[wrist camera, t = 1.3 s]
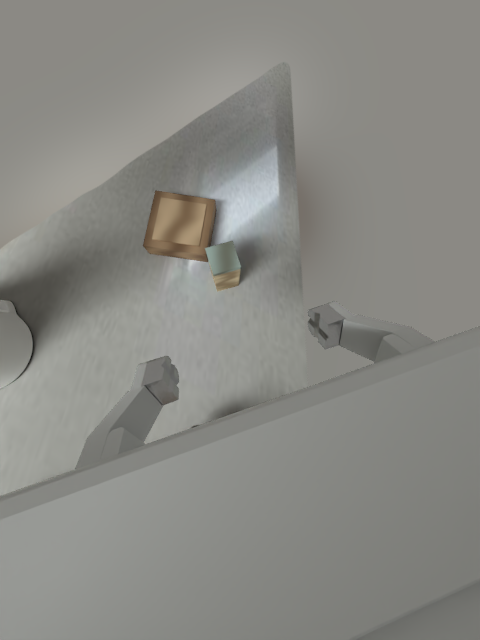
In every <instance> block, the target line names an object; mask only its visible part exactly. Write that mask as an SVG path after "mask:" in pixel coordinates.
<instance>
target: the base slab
mask: <svg viewBox="0 0 480 640" xmlns="http://www.w3.org/2000/svg"><path fill="white" fill-rule="evenodd" d="M215 215H216V203H215V200H213V199H207V198H200V197H194V196H187V195H181V194H175V193H168V192H162V191H155V195H154V199H153V204H152V208H151V213H150V217H149V221H148V226H147V230H146V235H145V239H144V244H143V246H144V247H145V249H146V250H147V251H148V252H149V253H150V254H156V255H163V256H170V257H177V258H184V259H191V260H198V261H204V262H208V257H207V254H206V250H205V248H207V247H210V245H211V239H212V233H213V227H214V221H215Z"/></svg>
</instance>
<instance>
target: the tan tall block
mask: <svg viewBox="0 0 480 640" xmlns="http://www.w3.org/2000/svg"><path fill="white" fill-rule="evenodd" d="M205 250H206V254H207V257H208V261H209V265H210V269H211V272H212V276H213V279H214V282H215V285H216V289H217V292H218V291H221V290H224V289H228V288H231V287H235V286H238V285H239V277H240V269H241V265H240V262H239V259H238V256H237V253H236V250H235V247H234V244H233V241H230V242H226V243H222V244H219V245H215V246H211V247H207V248H205Z"/></svg>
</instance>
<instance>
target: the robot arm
mask: <svg viewBox="0 0 480 640" xmlns="http://www.w3.org/2000/svg"><path fill="white" fill-rule="evenodd" d="M308 316H309V317H310V319H309V321H308V327H309V331H310V332H311V334H312V335H313V336H314V337H317V338H318V342H319V343H320V344H321V345H322V347H323V348H324V349H328V348H331V347H334V346H338V345H340V346H341V347H343V348H346V349H348V350H350V351H352V352H355V353H357V354H359V355H361V356H363V357H365V358H367V359H369V360H372V361H374V364H371V365H368V366H366V367H363V368H360V369H357V370H354V371H351V372H349V373H346V374H343V375H340V376H337V377H335V378H332V379H329V380H326V381H323V382H320V383H318V384H315V385H312V386H309V387H306V388H304V389H301V390H298V391H295V392H292V393H290V394H287V395H284V396H281V397H278V398H275V399H273V400H270V401H267V402H264V403H261V404H258V405H256V406H253V407H250V408H247V409H244V410H242V411H239V412H236V413H233V414H230V415H227V416H225V417H222V418H219V419H216V420H213V421H210V422H208V423H205V424H202V425H199V426H196V427H194V428H191V429H188V430H185V431H182V432H179V433H177V434H174V435H171V436H168V437H165V438H162V439H160V440H157V441H154V442H151V443H148V444H144V443H143V442H144V441H145V439H146V437H147V435H148V433H149V431H150V429H151V428H152V426H153V424H154V422H155V420H156V418H157V416H158V415H159V413H160V411H161V409H162V407H163V405H165V404H168V403H171V402H173V401H176V400H178V397H179V388H178V387H177V384H178V382H179V374H178V371H177V368H176V367H175V365H172V364H171V359H170V358H169V356H164V357H160V358H157V359H154V360H150V361H148V362H144V363H141V364H139V365H138V366H137V369H136V372H135V376H134V380H133V383H132V387H131V390H130V391H127V393H126V394H125V395H124V396H123V397H122V398H121V400H120V401H119V402H118V403H117V404H116V405H115V406H114V408H113V409H112V410H111V411H110V412H109V413H108V415H107V416H106V417H105V418H104V419H103V420H102V422H101V423H100V424H99V425H98V426H97V427H96V428H95V430H94V431H93V432H92V433H91V434H90V435H89V437H88V438H87V440H86V443H85V445H84V448H83V450H82V453H81V455H80V458H79V461H78V463H77V466H76V468H75V470H72V471H69V472H67V473H64V474H61V475H58V476H55V477H52V478H50V479H47V480H44V481H41V482H38V483H36V484H33V485H30V486H27V487H24V488H21V489H19V490H16V491H13V492H10V493H7V494H5V495H2V496H0V640H480V326H479V327H476V328H473V329H470V330H467V331H464V332H461V333H459V334H456V335H453V336H450V337H447V338H445V339H442V340H439V341H436V342H435V341H433V340H432V339H430V338H428V337H427V336H425V335H423V334H422V333H420V332H419V331H417V330H415V329H414V328H412V327H410V326H405V325H401V324H397V323H392V322H388V321H383V320H379V319H375V318H370V317H366V316H361V315H354V314H353V313H351V312H350V311H349V310H347V309H346V308H344V307H343V306H342V305H340V304H339V303H337V302H336V301H332V302H330V303H327V304H324V305H321V306H318V307H315V308H312V309H310V310H309V311H308ZM32 348H33V340H32V335H31V332H30V330H29V328H28V326H27V325H26V324H25V322H24V321H23V320H22V319H21V318H19V316H18V315H17V314H16V310H15V307H14V305H13V303H12V302H11V301H7V300H0V388H3V387H5V386H7V385H8V384H10V383H11V382H13V381H14V380H15V379H16V378H17V377H18V376H19V375H20V374H21V373H22V372H23V371H24V369H25V368H26V366H27V364H28V362H29V360H30V357H31V354H32Z"/></svg>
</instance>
